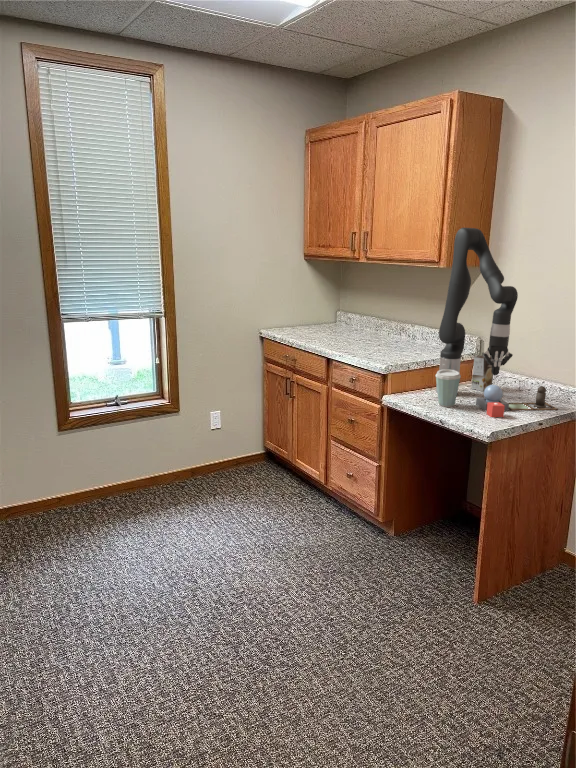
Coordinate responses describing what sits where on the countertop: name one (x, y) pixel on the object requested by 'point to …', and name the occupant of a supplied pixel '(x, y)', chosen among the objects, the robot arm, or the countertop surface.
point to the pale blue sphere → (493, 393)
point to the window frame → (522, 407)
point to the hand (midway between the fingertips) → (494, 374)
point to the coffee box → (481, 373)
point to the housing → (483, 403)
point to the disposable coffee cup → (447, 387)
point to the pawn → (540, 398)
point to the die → (495, 409)
